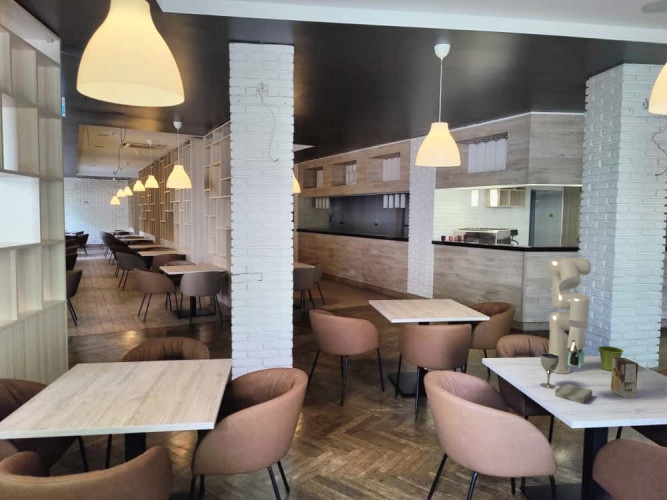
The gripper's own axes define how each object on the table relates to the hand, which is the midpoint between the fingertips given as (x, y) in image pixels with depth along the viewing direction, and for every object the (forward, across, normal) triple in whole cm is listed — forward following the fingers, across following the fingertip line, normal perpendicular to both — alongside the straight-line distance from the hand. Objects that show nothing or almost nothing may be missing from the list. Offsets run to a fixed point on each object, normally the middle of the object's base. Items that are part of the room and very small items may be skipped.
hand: (575, 363), depth 206 cm
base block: (+16, 0, 0) cm, 16 cm away
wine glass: (+16, -5, -13) cm, 21 cm away
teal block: (+1, 0, 0) cm, 1 cm away
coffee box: (+16, -21, +15) cm, 30 cm away
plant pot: (+16, -56, +1) cm, 58 cm away
